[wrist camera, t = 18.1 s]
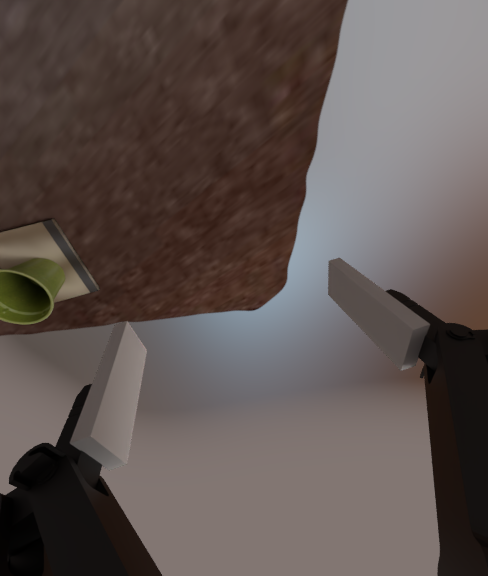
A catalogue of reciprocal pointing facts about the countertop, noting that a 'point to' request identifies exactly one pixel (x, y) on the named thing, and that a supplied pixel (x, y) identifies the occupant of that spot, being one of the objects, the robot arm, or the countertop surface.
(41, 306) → the plant pot
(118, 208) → the countertop surface
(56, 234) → the board
